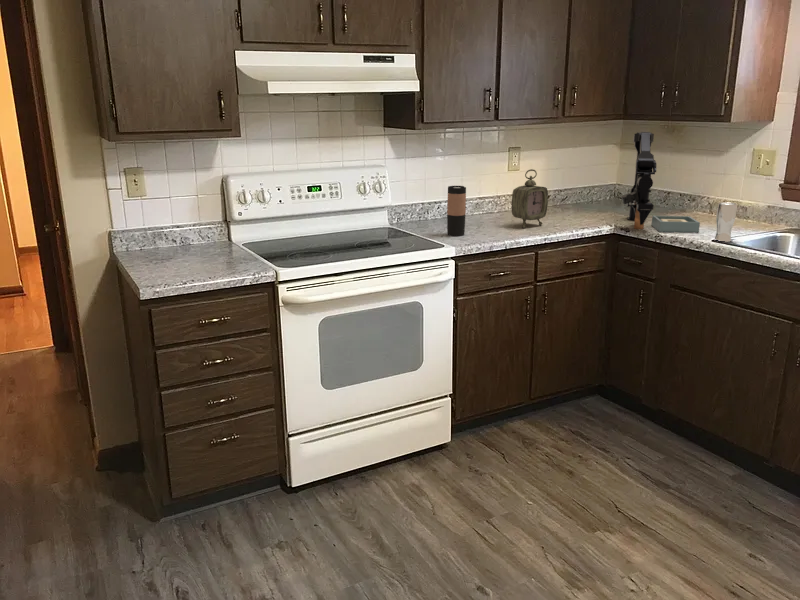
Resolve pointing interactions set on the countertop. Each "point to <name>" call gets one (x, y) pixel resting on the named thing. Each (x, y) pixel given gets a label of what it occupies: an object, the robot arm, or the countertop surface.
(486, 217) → the countertop surface
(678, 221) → the open box
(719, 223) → the beer glass
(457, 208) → the travel mug
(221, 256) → the countertop surface
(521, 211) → the tabletop clock
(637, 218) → the peg
